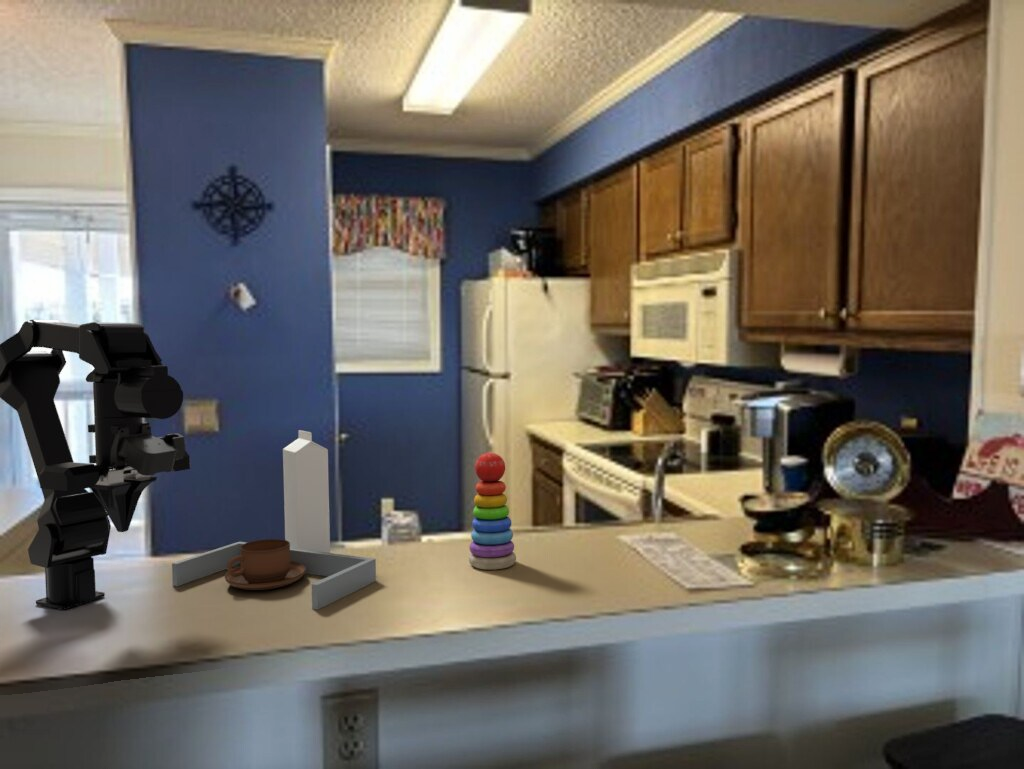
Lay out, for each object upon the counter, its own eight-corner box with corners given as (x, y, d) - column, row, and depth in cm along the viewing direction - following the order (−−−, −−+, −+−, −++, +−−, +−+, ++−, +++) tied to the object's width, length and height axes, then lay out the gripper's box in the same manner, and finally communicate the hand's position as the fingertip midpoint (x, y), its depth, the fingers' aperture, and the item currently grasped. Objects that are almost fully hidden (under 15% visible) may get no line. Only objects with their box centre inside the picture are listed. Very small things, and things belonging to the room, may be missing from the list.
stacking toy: (525, 561, 126) (524, 451, 126) (499, 574, 120) (497, 457, 119) (486, 555, 131) (485, 448, 130) (459, 566, 124) (457, 454, 123)
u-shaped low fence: (172, 585, 116) (172, 563, 116) (239, 561, 128) (239, 541, 128) (317, 609, 104) (317, 584, 104) (376, 580, 117) (375, 558, 117)
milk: (297, 561, 128) (293, 434, 127) (285, 554, 133) (281, 431, 132) (331, 555, 132) (327, 431, 131) (317, 548, 137) (314, 428, 136)
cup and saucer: (270, 600, 109) (269, 558, 108) (207, 590, 113) (206, 550, 113) (321, 577, 120) (320, 539, 120) (262, 569, 124) (261, 532, 124)
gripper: (95, 424, 88) (100, 555, 89) (217, 412, 105) (220, 521, 106) (34, 422, 93) (39, 546, 94) (160, 410, 110) (164, 515, 111)
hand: (122, 531), depth 101 cm, fingers closed
